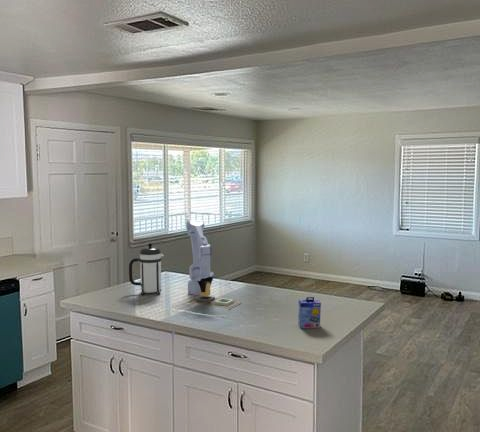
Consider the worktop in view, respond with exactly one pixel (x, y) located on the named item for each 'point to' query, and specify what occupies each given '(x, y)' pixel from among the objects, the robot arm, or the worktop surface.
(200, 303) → the switch board
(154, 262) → the coffee press
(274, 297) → the worktop surface
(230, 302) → the pale green square frame
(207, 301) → the grey square frame
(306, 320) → the ink cartridge box
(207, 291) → the plug
